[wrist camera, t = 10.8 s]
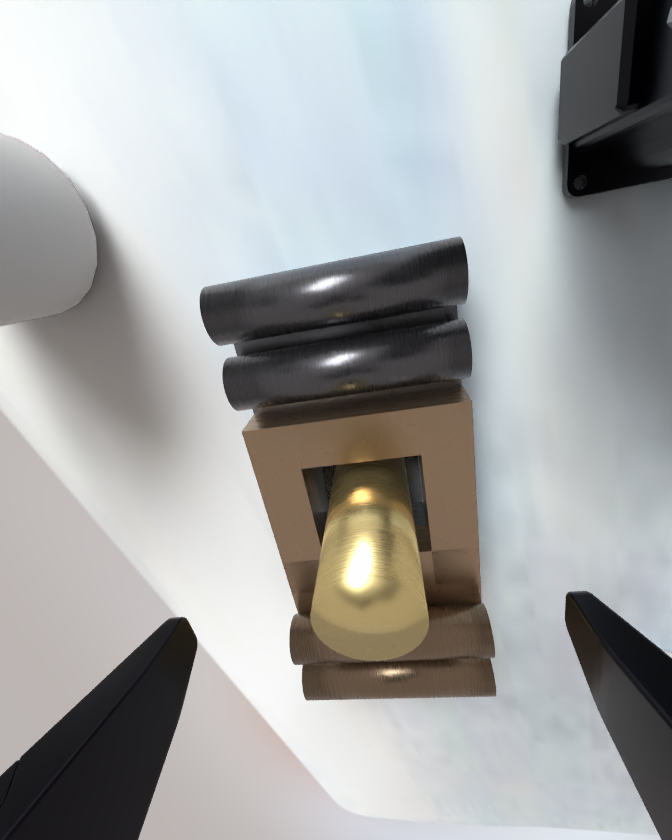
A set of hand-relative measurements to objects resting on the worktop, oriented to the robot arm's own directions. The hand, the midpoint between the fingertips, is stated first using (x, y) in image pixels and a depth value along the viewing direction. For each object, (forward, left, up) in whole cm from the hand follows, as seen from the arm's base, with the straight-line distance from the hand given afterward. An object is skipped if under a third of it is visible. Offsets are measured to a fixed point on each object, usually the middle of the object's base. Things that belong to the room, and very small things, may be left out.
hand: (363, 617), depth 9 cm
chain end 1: (+1, +1, -13) cm, 13 cm away
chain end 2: (+1, +7, -13) cm, 14 cm away
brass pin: (0, +4, -13) cm, 13 cm away
